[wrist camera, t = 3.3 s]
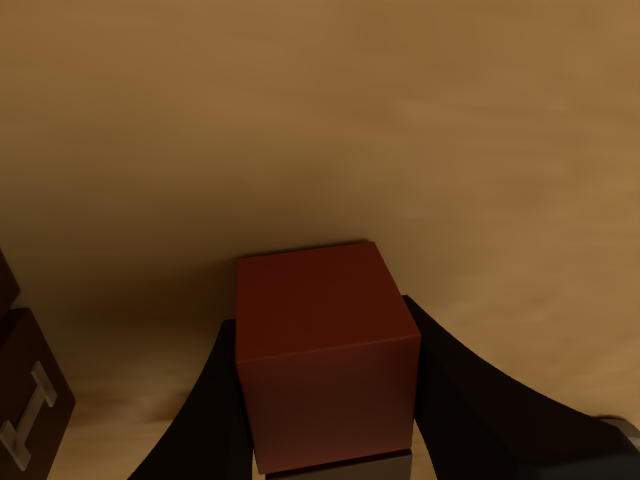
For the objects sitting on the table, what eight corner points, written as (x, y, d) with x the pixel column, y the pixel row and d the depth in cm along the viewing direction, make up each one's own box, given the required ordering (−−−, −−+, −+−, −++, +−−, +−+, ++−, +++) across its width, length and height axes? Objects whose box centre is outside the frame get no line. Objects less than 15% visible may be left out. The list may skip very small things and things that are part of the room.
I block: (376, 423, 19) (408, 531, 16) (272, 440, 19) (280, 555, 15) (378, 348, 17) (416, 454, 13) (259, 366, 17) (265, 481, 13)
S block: (375, 341, 17) (415, 447, 13) (254, 360, 16) (258, 476, 12) (377, 240, 14) (426, 334, 11) (235, 258, 14) (234, 363, 10)
